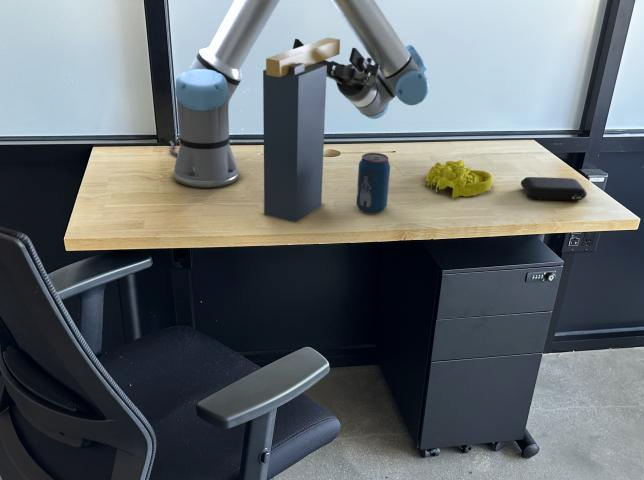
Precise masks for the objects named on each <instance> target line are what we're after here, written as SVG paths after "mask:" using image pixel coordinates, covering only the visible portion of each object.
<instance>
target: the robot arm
mask: <svg viewBox="0 0 644 480" xmlns="http://www.w3.org/2000/svg"><path fill="white" fill-rule="evenodd" d="M330 2H331V3H332V4H333V6H334V7H335V9H336V11H337V12H338V13H339V14H340V16H341V18H342V19H343V20H344V22H345V23H346V25H347V26H348V27H349V29H350V30H351V31H352V33H353V34H354V36H355V38H356V39H357V40H358V41H359V43H360V44H361V46H362V47H363V49H364V50H365V51H366V53H367V55H368V56H369V57H367V58H365V57H364V56H363V55H362V54H361V52H360V51H359V50H358V48H357V47H352V48H351V52H350V55H349V59H348V62H350V63H349V64H347V65H346V64H343V63H340V62H339V63H338V62H337V61H334V60H331V61H329V60H327V59H326V60H323V61H320V62H318V63H317V64H323V65H327V72H326V78H329V79H331V80H333V81H334V82H335V83H336V87H337V90H338V91H339V93H341V95H343V97H345V99H346V100H348V101H349V102H350V103H351V104H352V105H353V106H354V107H355V108H356V109H357V110H358V111H359V112H360V114H361V115H363V116H365V117H366V118H368V119H371V120H376V119H380V118H382V117H383V116H384V115H385V114H386V113H387V111H388V109H389V106H390V102H391V101H392V100H393V99H394V98H395V97H396V98H397V99H398V100H399V101H400V102H401V103H403V104H405V105H407V106H417V105H419V104H421V103H423V101H424V100H425V99H426V98H427V96H428V94H429V90H430V84H429V81H428V77H427V76H426V74H425V72H426V71H427V68H428V66H427V63H426V62H425V61H424V59H423V58H422V56H421V55H420V54H419V52H418V51H417V50H416V48H415V47H414V46H413V45H412V44H408V45H405V44H404V42H403V40H401V37H400V36H399V35H398V33H397V32H396V30H395V29H394V27H393V26H392V24H391V23H390V21H389V20H388V18H387V17H386V16H385V14H384V12H383V11H382V9H381V8H380V7H379V5H378V3H377V2H376V0H330ZM279 3H280V0H234V1H233V3H232V4H231V7H229V10H228V12H227V14H226V15H225V17H224V18H223V21H222V23H221V24H220V26H219V28H218V30H217V32H216V34H215V35H214V37H213V39H212V40H211V43H210V45H209V46H208V47H205V48H201V49H199V51H198V53H197V55H196V57H195V58H194V60H193V61H192V64H191V66H189V68H188V69H187V70H186V71H183V72H182V73H180V74H179V75H178V76H176V79H175V87H174V95H175V98H176V110H177V125H178V140H179V147H178V150H177V152H176V151H174V148H175V143H174V142H173V141H172V140H171V141H169V140H167V139H165V138H161V137H160V139H159V140H160V141H164V140H166V141H167V142H168V143H169V144H170V145H171V146H170V147H169V152H170V154H172V155H174V156H176V159H175V162H174V166H173V167H174V168H173V177H174V179H175V181H176V182H178V184H181V185H183V186H187V187H191V188H197V189H198V188H199V189H200V188H201V189H212V188H214V189H215V188H220V187H221V188H222V187H225V186H229V185H231V184H233V183H235V182H236V181H237V180H238V179H239V169H238V165H237V162H236V159H235V157H234V154H233V151H232V148H231V145H230V123H229V122H230V121H229V118H230V117H229V107H230V101H231V99H232V97H233V95H234V93H235V92H236V91H237V88H238V87H239V85H240V83H241V81H242V80H243V76H242V72H241V69H242V67H243V65H244V64H245V62H246V60H247V58H248V56H249V55H250V53H251V51H252V50H253V47H254V46H255V44H256V42H257V41H258V39H259V37H260V36H261V34H262V32H263V30H264V29H265V27H266V25H267V23H268V21H269V20H270V18H271V16H272V15H273V13H274V11H275V10H276V8H277V6H278V5H279ZM304 45H305V44H304V43H303V42H302V41H301V40H300V39H299V38H294V42H293V46H292V49H291V50H293V49H296V48H298V47H301V46H304ZM372 62H373V63H374V64H373V63H372Z"/></svg>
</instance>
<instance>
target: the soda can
mask: <svg viewBox="0 0 644 480" xmlns="http://www.w3.org/2000/svg"><path fill="white" fill-rule="evenodd" d="M390 173H391V163H390V161H389V156H388V155H386V154H384V153H381V152H367V153H363V154H362V156H361V159H360V161H359V162H358V173H357V184H356V185H357V186H356V200H355V203H356V206H357V208H358V211H360V212H361V213H364V214H366V215H379V214H381V213H383V212H384V211H385V209H386V208H387V206H388V198H389V197H388V196H389V186H390V175H391V174H390Z"/></svg>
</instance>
